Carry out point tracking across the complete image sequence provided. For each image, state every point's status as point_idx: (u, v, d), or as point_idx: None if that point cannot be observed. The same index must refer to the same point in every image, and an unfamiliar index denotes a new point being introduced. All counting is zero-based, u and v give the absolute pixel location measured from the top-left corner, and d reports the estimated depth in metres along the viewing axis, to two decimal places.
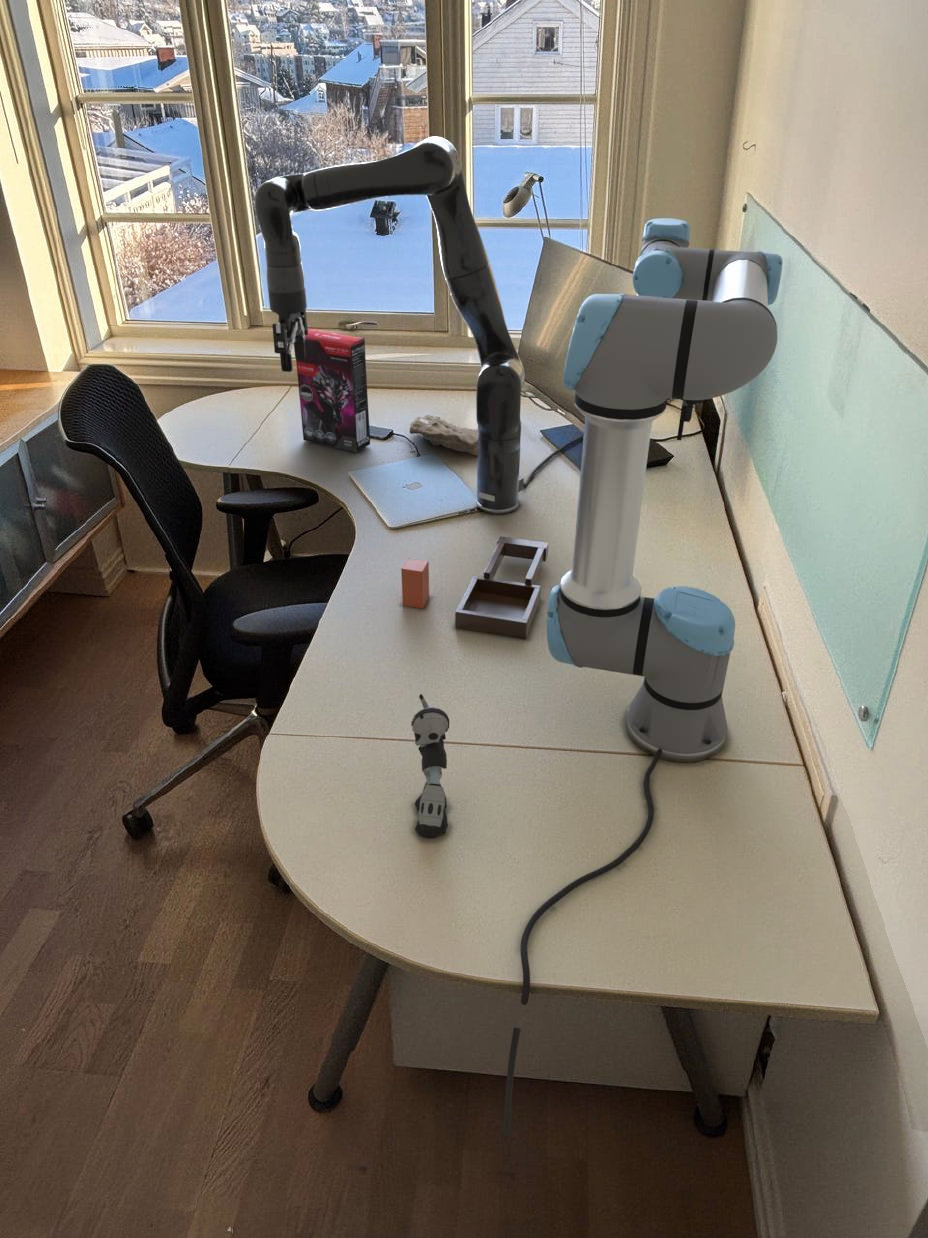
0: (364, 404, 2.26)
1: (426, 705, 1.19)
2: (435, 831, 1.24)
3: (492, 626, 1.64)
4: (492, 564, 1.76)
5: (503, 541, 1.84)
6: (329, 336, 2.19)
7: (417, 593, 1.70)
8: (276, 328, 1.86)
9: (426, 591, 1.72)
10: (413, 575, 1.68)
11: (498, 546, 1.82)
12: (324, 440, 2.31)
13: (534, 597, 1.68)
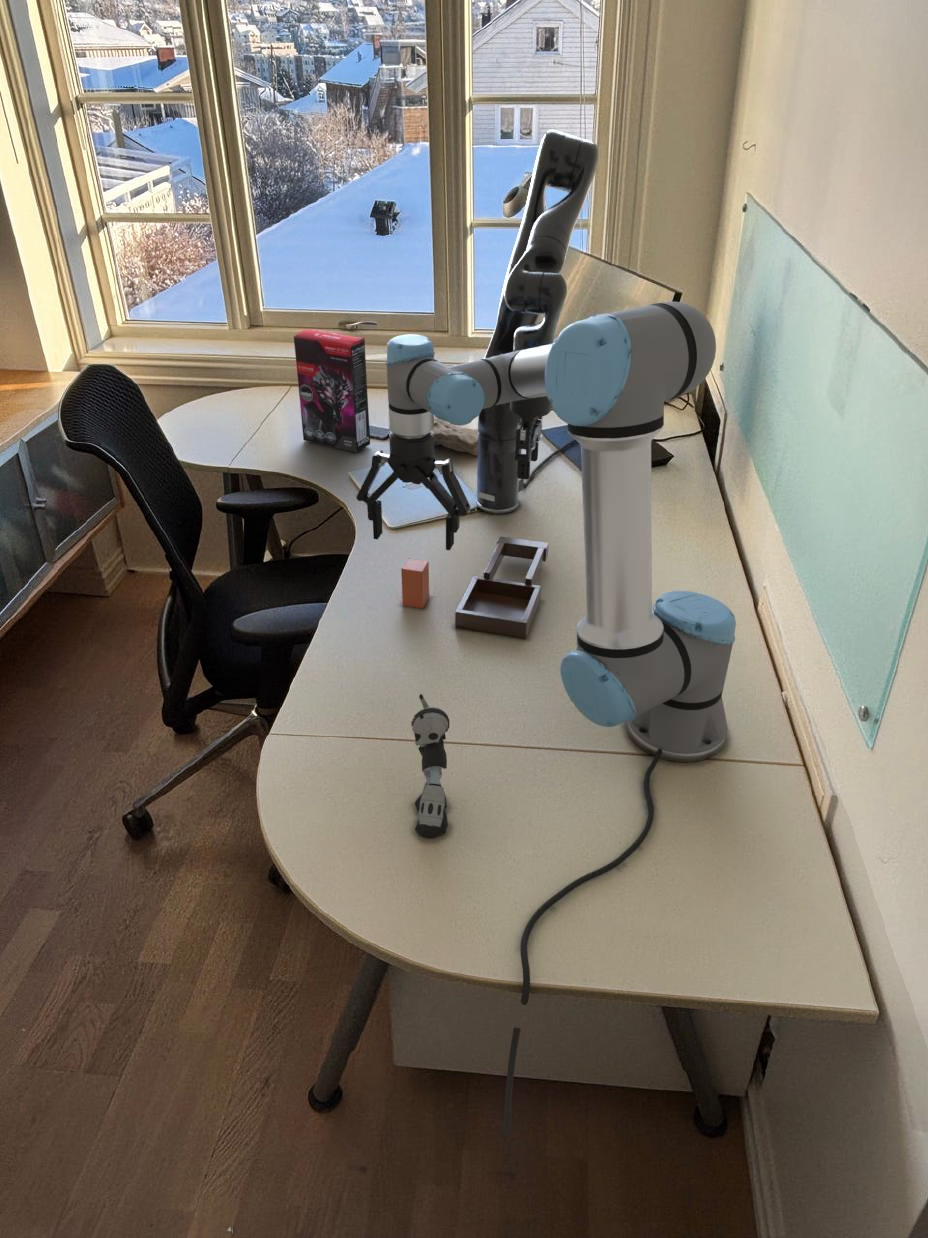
0: (364, 404, 2.26)
1: (426, 705, 1.19)
2: (435, 831, 1.24)
3: (492, 626, 1.64)
4: (492, 564, 1.76)
5: (503, 541, 1.84)
6: (329, 336, 2.19)
7: (417, 593, 1.70)
8: (520, 434, 1.64)
9: (426, 591, 1.72)
10: (413, 575, 1.68)
11: (498, 546, 1.82)
12: (324, 440, 2.31)
13: (534, 597, 1.68)
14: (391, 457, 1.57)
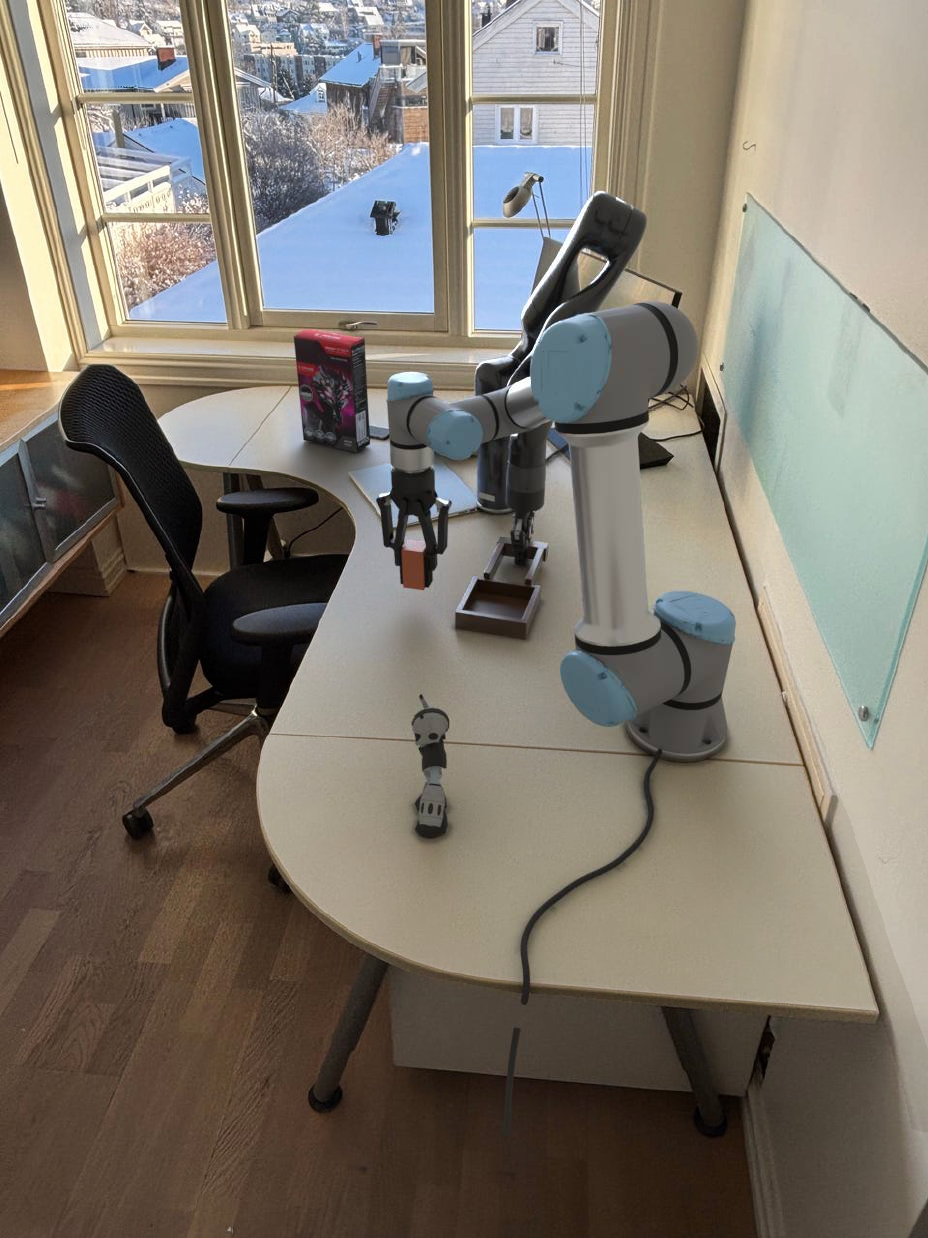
0: (364, 404, 2.26)
1: (426, 705, 1.19)
2: (435, 831, 1.24)
3: (492, 626, 1.64)
4: (492, 564, 1.76)
5: (503, 541, 1.84)
6: (329, 336, 2.19)
7: (418, 574, 1.67)
8: (514, 536, 1.76)
9: None
10: (413, 555, 1.65)
11: (498, 546, 1.82)
12: (324, 440, 2.31)
13: (534, 598, 1.68)
14: (393, 491, 1.60)
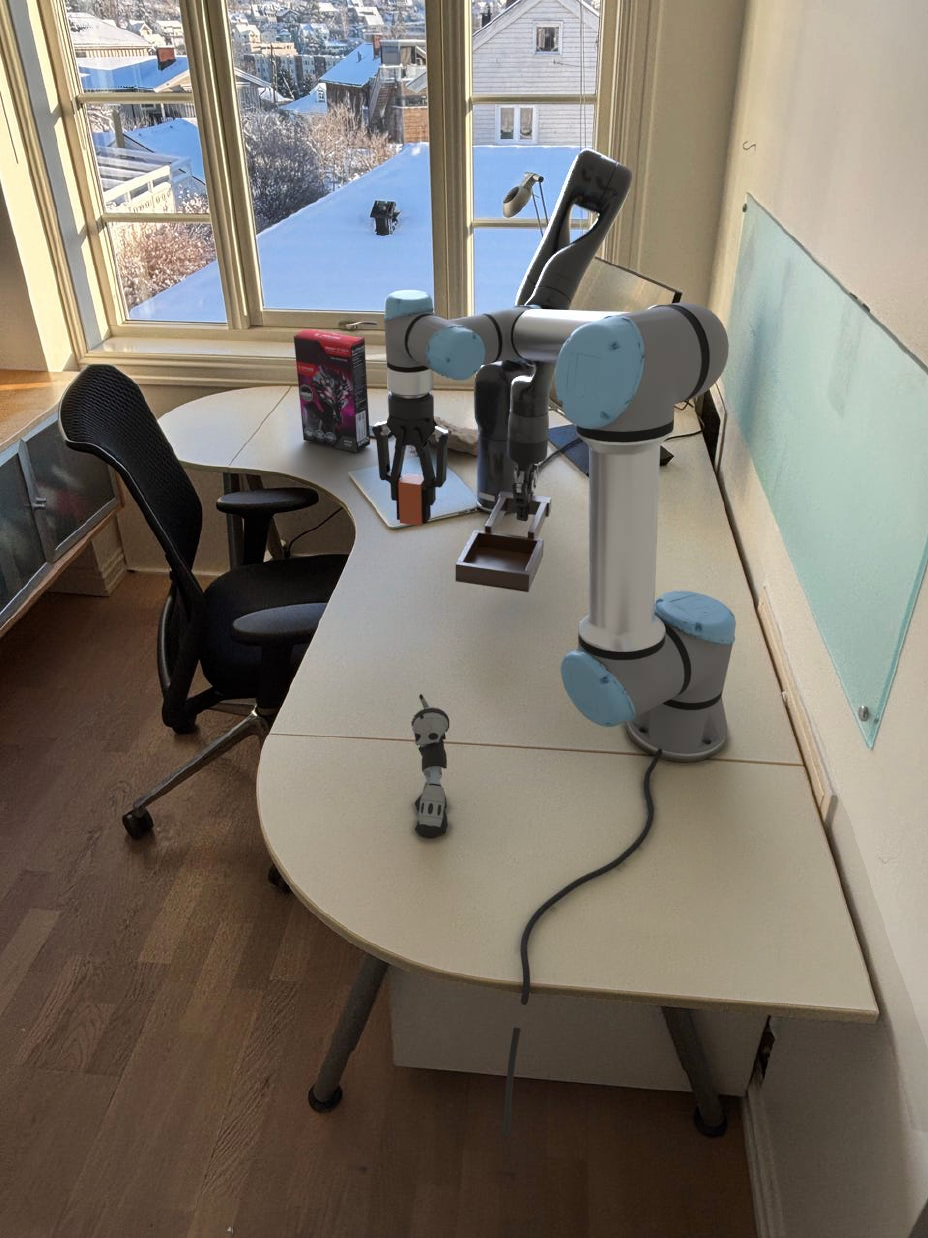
0: (364, 404, 2.26)
1: (426, 705, 1.19)
2: (435, 831, 1.24)
3: (494, 579, 1.58)
4: (493, 518, 1.71)
5: (504, 496, 1.78)
6: (329, 336, 2.19)
7: (415, 509, 1.60)
8: (516, 489, 1.70)
9: None
10: (410, 488, 1.58)
11: (499, 501, 1.76)
12: (324, 440, 2.31)
13: (537, 550, 1.63)
14: (390, 419, 1.53)
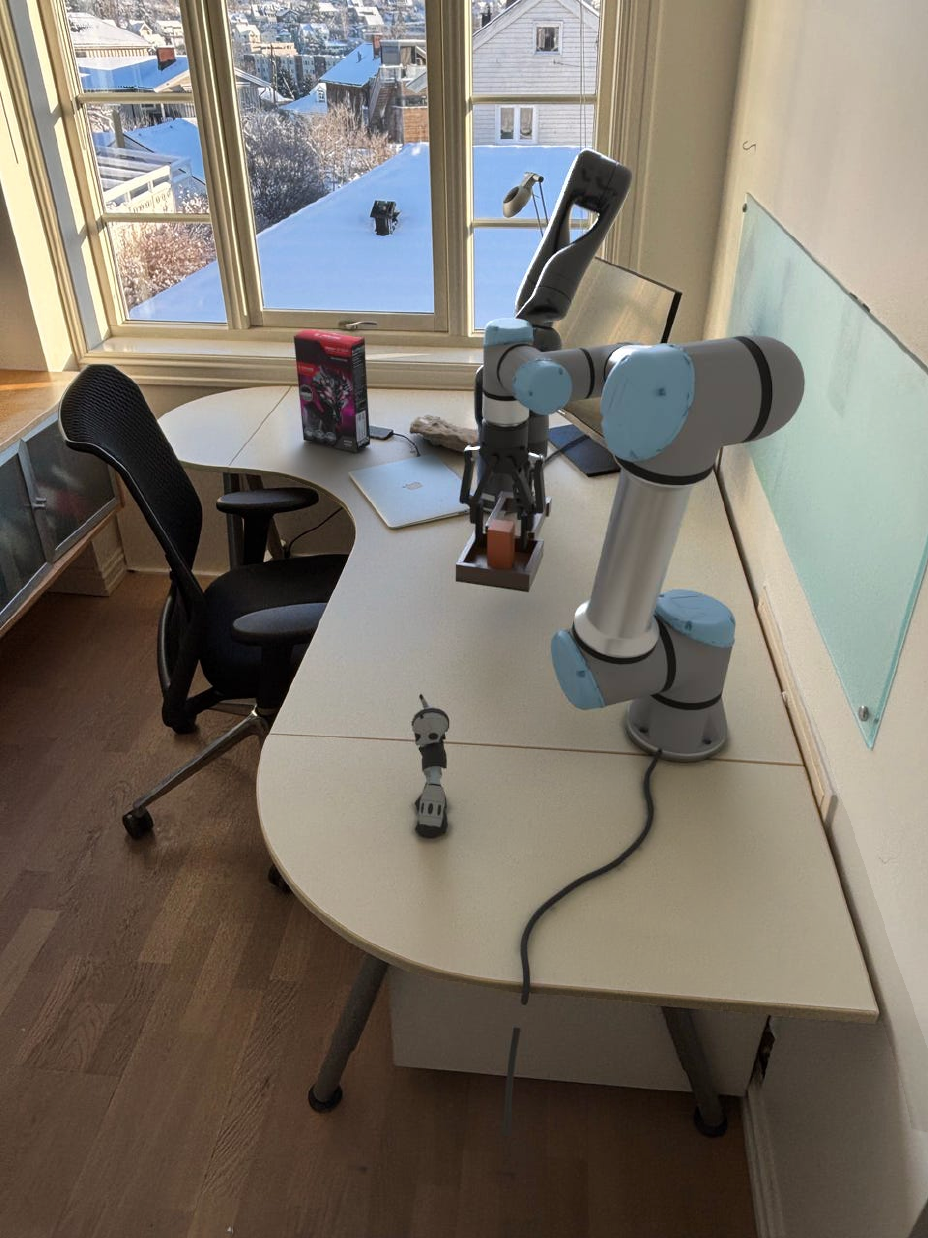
0: (364, 404, 2.26)
1: (426, 705, 1.19)
2: (435, 831, 1.24)
3: (494, 579, 1.58)
4: (494, 518, 1.71)
5: (505, 496, 1.78)
6: (329, 336, 2.19)
7: (503, 556, 1.60)
8: None
9: (512, 554, 1.63)
10: (500, 536, 1.59)
11: (500, 501, 1.76)
12: (324, 440, 2.31)
13: (537, 550, 1.63)
14: (483, 446, 1.51)
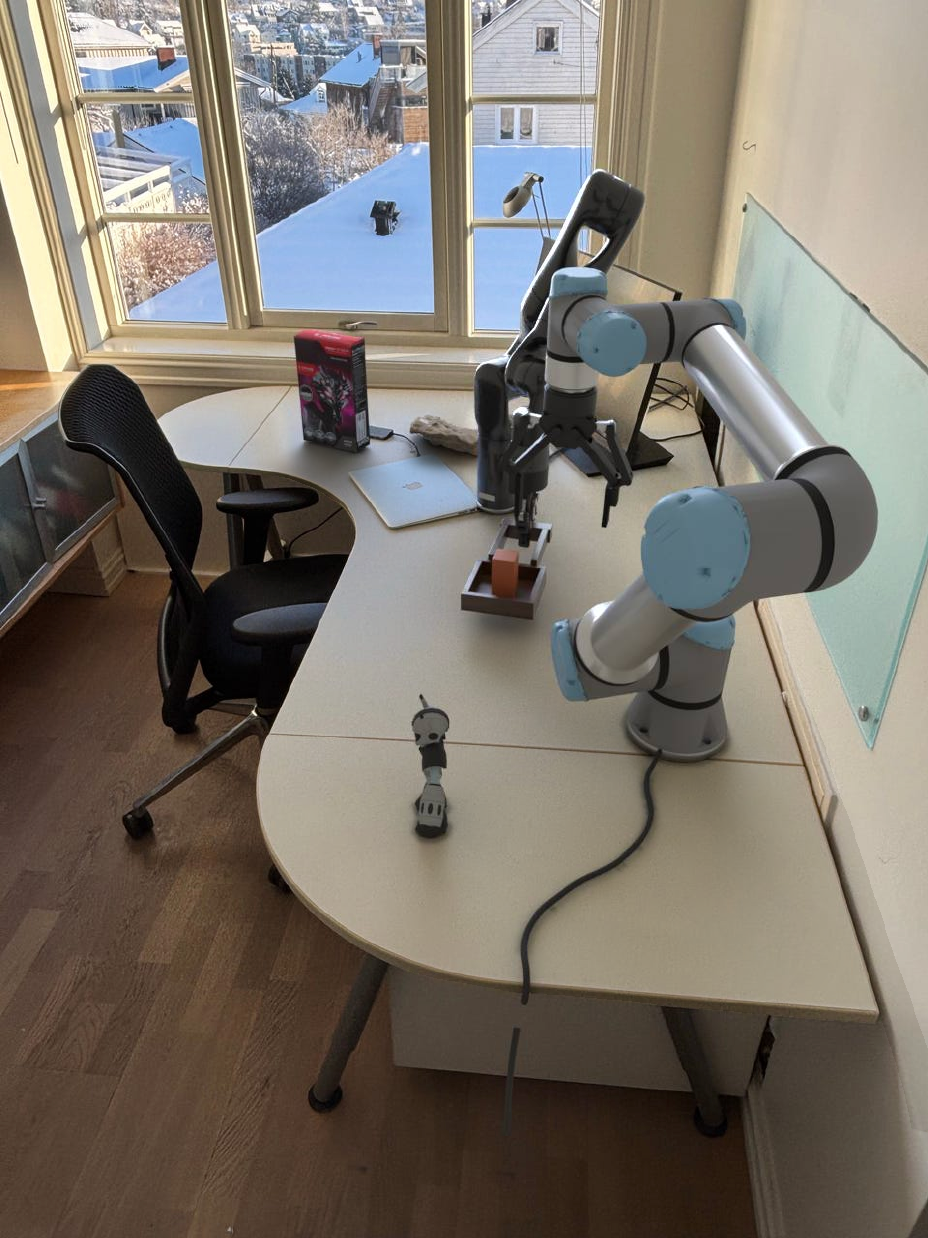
0: (364, 404, 2.26)
1: (426, 705, 1.19)
2: (435, 831, 1.24)
3: (499, 607, 1.61)
4: (496, 546, 1.74)
5: (506, 523, 1.81)
6: (329, 336, 2.19)
7: (508, 584, 1.64)
8: (518, 517, 1.74)
9: (516, 582, 1.66)
10: (504, 565, 1.62)
11: (502, 528, 1.80)
12: (324, 440, 2.31)
13: (540, 578, 1.66)
14: (544, 417, 1.33)
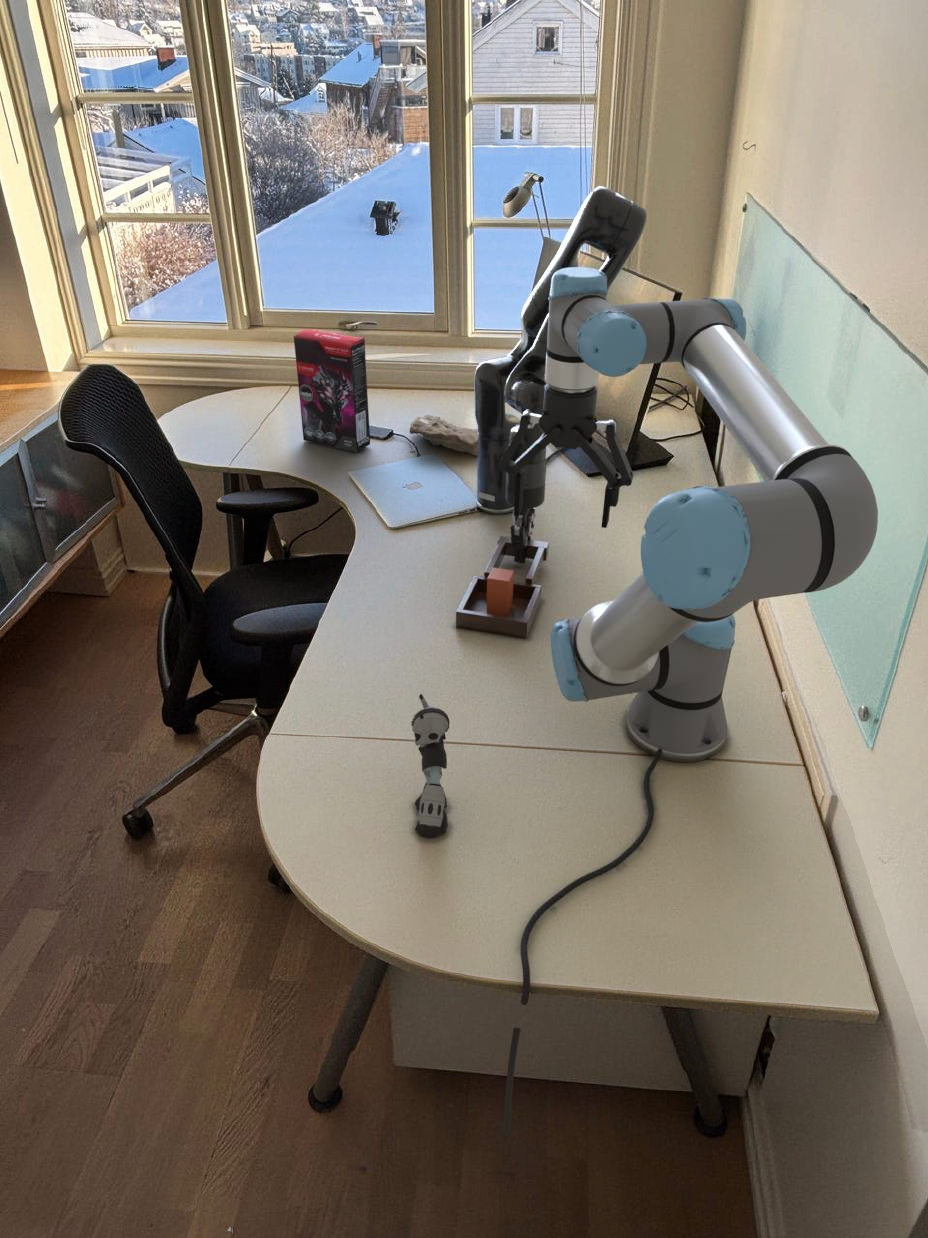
0: (364, 404, 2.26)
1: (426, 705, 1.19)
2: (435, 831, 1.24)
3: (493, 626, 1.64)
4: (493, 564, 1.76)
5: (503, 540, 1.84)
6: (329, 336, 2.19)
7: (502, 603, 1.66)
8: (514, 531, 1.75)
9: (510, 601, 1.68)
10: (499, 584, 1.64)
11: (499, 546, 1.82)
12: (324, 440, 2.31)
13: (535, 597, 1.68)
14: (544, 417, 1.33)
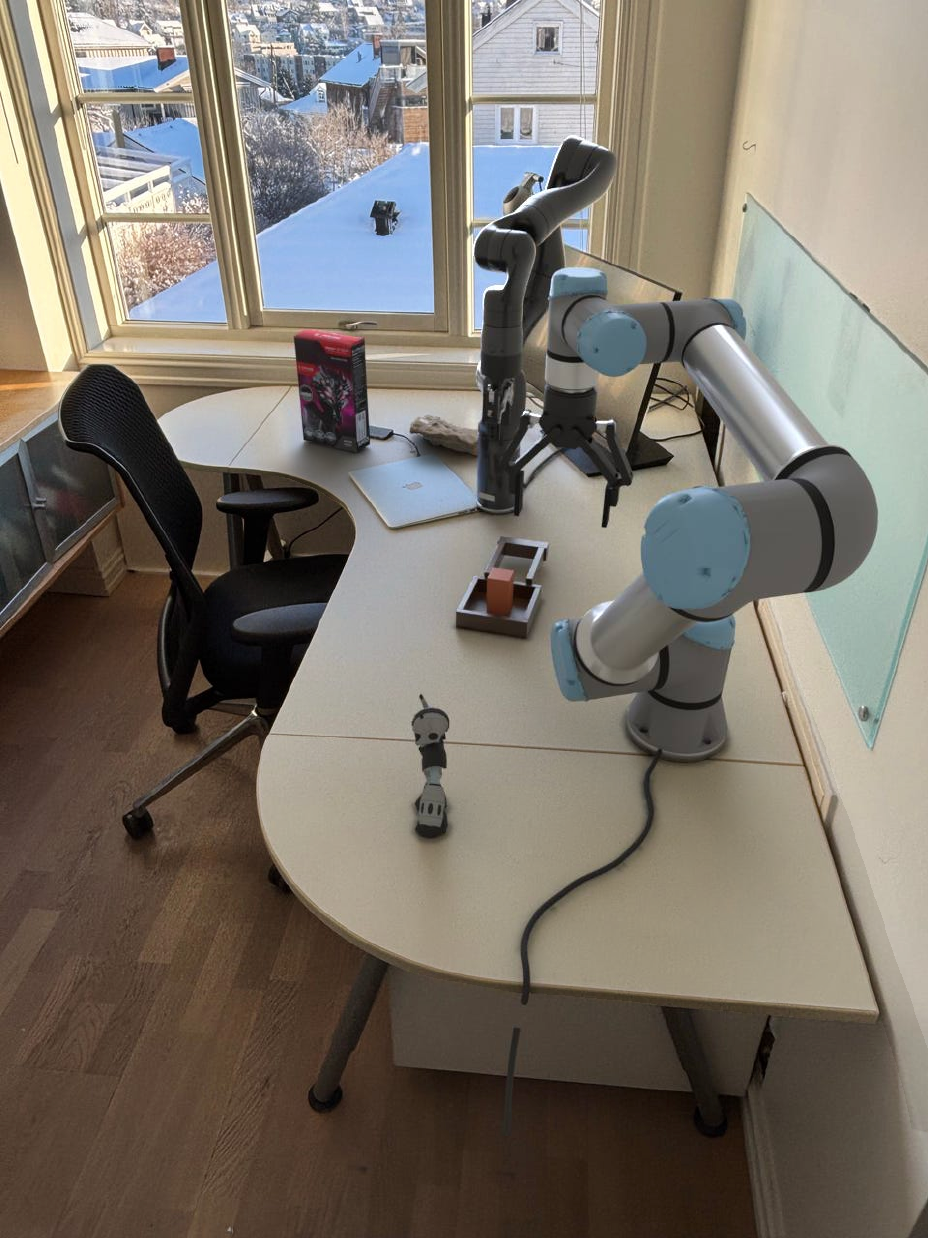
0: (364, 404, 2.26)
1: (426, 705, 1.19)
2: (435, 831, 1.24)
3: (493, 626, 1.64)
4: (493, 564, 1.76)
5: (503, 541, 1.84)
6: (329, 336, 2.19)
7: (502, 603, 1.66)
8: (489, 395, 1.63)
9: (510, 601, 1.68)
10: (499, 584, 1.64)
11: (499, 546, 1.82)
12: (324, 440, 2.31)
13: (535, 597, 1.68)
14: (544, 417, 1.33)
